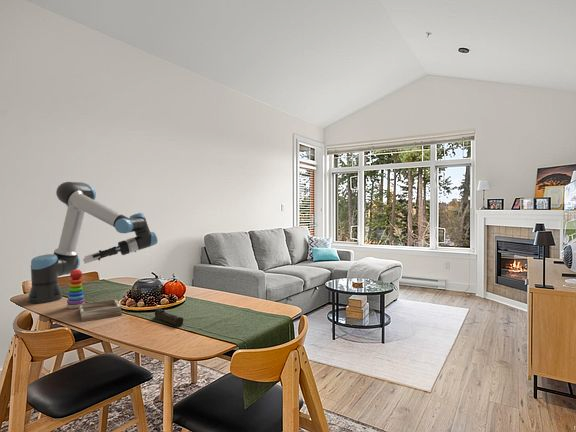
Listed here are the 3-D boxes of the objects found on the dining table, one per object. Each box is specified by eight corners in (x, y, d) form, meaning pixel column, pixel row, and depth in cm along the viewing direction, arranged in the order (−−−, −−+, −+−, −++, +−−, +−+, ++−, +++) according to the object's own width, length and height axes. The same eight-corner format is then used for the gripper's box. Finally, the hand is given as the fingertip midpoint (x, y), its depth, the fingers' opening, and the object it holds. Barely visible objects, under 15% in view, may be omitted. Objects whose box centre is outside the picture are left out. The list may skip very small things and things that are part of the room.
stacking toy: (76, 309, 172) (75, 271, 171) (62, 308, 174) (61, 270, 173) (88, 305, 180) (88, 268, 179) (75, 304, 181) (74, 267, 181)
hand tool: (184, 325, 150) (183, 314, 150) (175, 328, 147) (175, 317, 147) (161, 316, 163) (160, 306, 163) (152, 318, 160) (152, 308, 160)
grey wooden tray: (79, 310, 172) (78, 302, 171) (115, 304, 180) (115, 297, 180) (81, 321, 155) (81, 313, 155) (121, 315, 164) (121, 307, 163)
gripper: (133, 250, 182) (88, 265, 170) (126, 255, 202) (85, 268, 191) (129, 236, 182) (83, 250, 170) (122, 242, 202) (80, 255, 191)
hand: (84, 260), depth 180 cm, fingers open, 13 cm apart
